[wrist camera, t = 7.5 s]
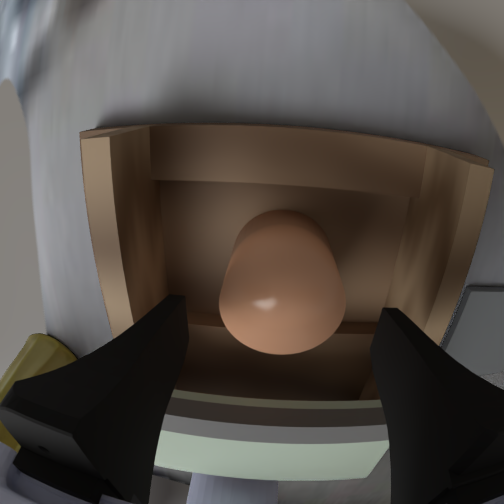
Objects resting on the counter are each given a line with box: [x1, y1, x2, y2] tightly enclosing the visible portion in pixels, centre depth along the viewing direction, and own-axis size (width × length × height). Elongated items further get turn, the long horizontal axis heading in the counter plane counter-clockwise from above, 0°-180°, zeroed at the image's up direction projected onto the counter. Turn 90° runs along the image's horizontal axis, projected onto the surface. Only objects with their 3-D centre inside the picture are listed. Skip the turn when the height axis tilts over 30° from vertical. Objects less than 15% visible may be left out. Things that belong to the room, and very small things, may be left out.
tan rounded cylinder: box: [219, 210, 346, 355], centre depth 15 cm, size 5×5×4 cm
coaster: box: [441, 286, 504, 376], centre depth 18 cm, size 8×8×1 cm
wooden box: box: [80, 123, 494, 401], centre depth 16 cm, size 20×20×5 cm
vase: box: [0, 333, 78, 453], centre depth 17 cm, size 6×6×14 cm
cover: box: [154, 390, 389, 481], centre depth 16 cm, size 9×15×2 cm, turn 88°
